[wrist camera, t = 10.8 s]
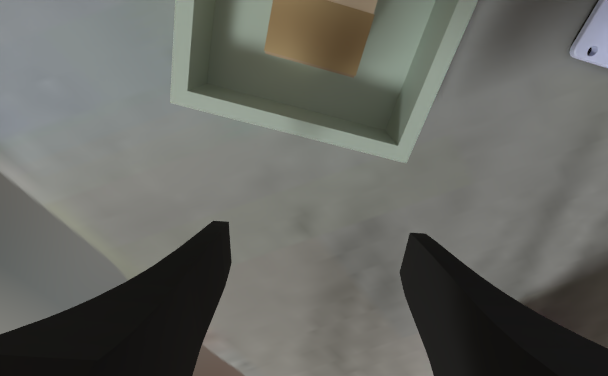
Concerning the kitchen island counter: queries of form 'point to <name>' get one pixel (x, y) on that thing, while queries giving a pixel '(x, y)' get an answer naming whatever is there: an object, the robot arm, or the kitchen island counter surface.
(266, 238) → the kitchen island counter surface
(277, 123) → the bin
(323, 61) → the tan long block
